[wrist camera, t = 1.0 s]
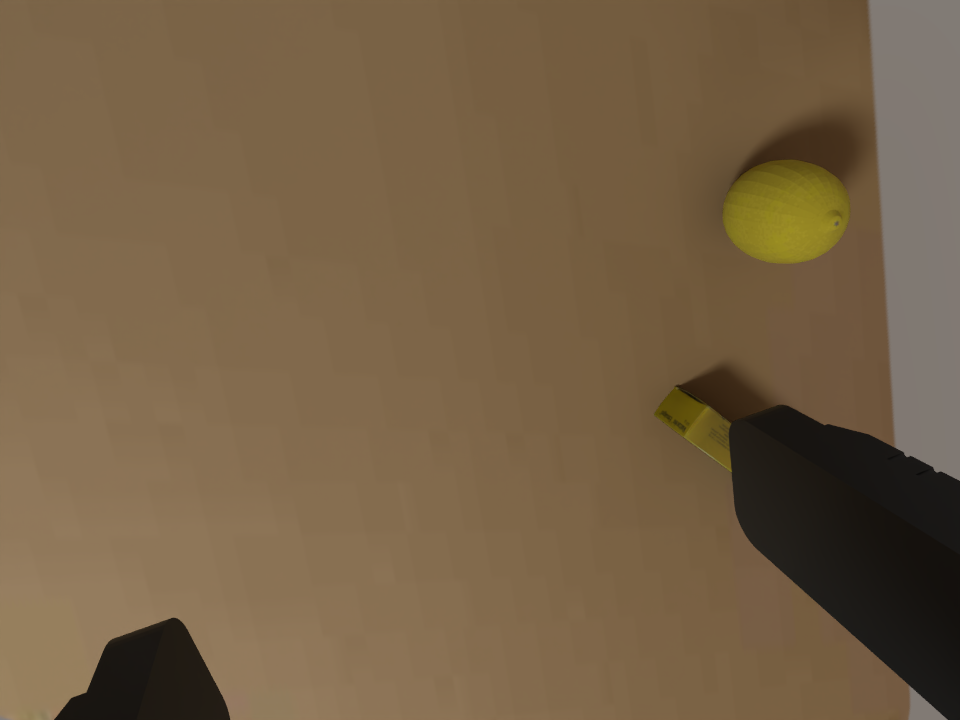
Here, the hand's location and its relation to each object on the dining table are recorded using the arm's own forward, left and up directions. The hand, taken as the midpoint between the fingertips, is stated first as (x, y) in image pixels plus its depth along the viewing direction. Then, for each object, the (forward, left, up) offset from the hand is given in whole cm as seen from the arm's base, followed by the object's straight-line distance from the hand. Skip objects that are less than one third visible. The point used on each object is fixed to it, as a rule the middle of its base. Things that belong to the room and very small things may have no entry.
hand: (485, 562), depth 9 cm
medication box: (-3, +29, -27) cm, 40 cm away
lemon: (-15, +18, -27) cm, 36 cm away
